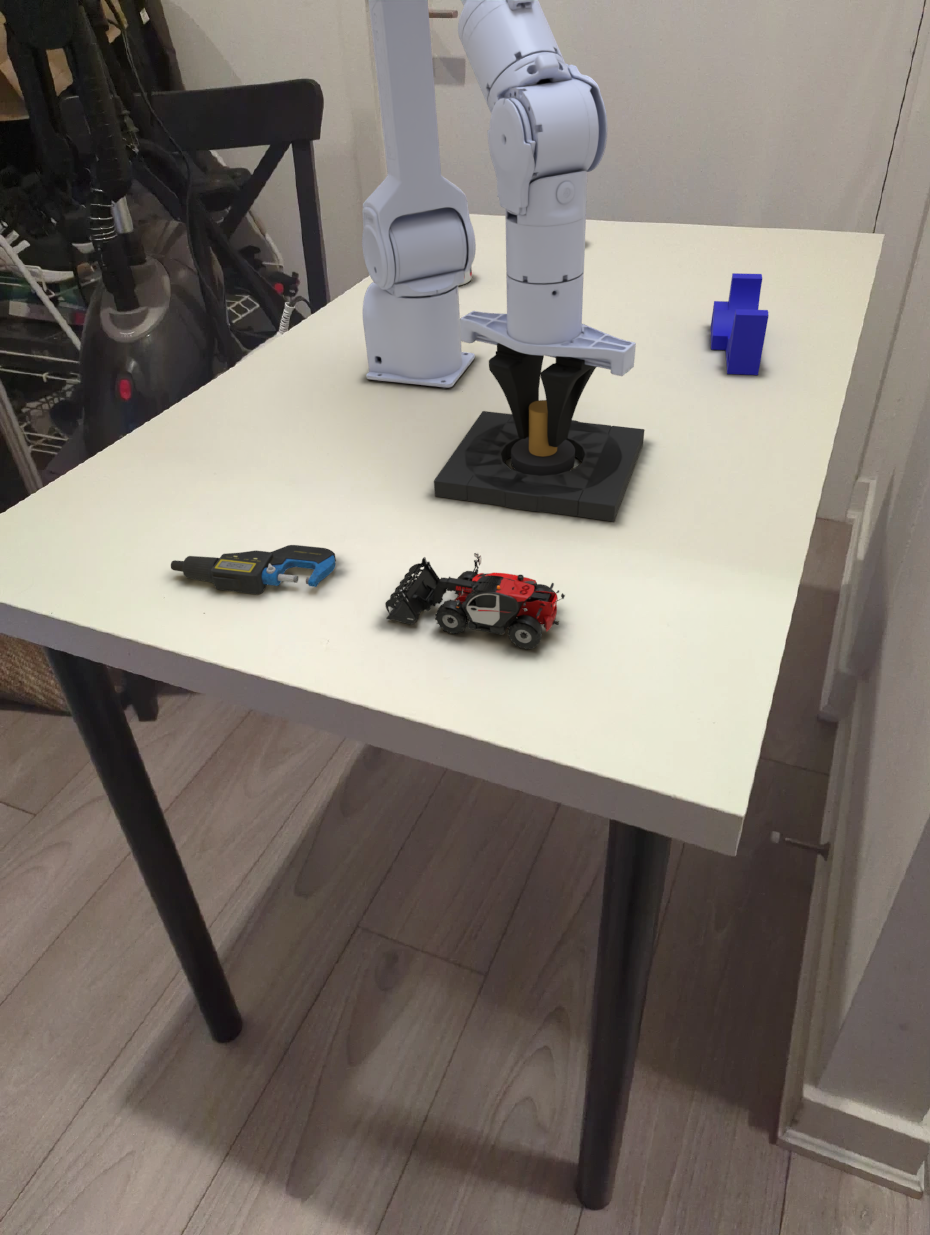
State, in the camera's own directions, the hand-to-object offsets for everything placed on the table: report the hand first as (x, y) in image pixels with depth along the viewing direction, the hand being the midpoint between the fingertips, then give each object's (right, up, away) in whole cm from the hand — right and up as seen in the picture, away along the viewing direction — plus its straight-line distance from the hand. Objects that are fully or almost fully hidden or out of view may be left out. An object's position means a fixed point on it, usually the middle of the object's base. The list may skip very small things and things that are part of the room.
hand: (543, 437), depth 73 cm
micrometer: (-22, -12, -8) cm, 26 cm away
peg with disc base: (0, -2, +2) cm, 2 cm away
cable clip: (+22, +13, +19) cm, 32 cm away
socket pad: (0, -2, +2) cm, 3 cm away
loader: (-6, -15, -13) cm, 21 cm away
